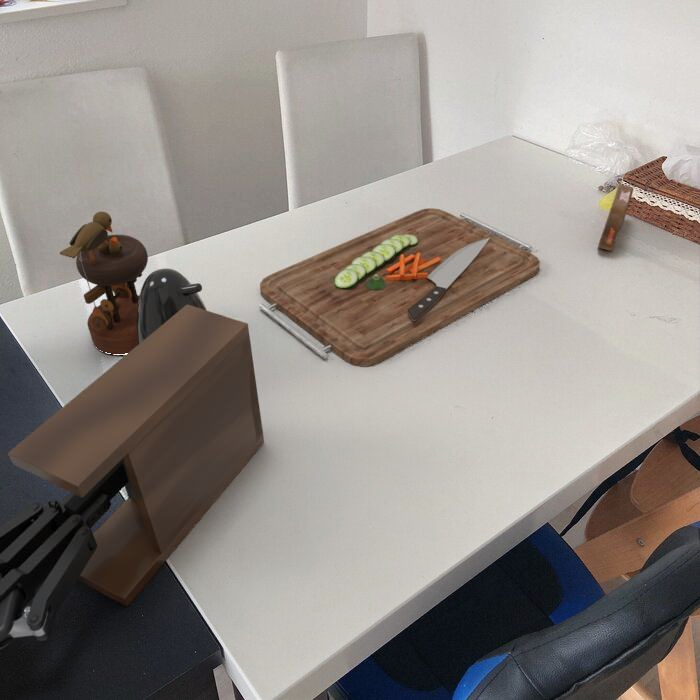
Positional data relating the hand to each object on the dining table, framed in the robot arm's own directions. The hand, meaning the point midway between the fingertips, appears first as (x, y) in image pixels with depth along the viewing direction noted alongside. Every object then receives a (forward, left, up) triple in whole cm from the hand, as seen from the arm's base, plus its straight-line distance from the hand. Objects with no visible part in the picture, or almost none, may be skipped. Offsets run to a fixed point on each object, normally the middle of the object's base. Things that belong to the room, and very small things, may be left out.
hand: (120, 470), depth 69 cm
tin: (+34, +84, -8) cm, 91 cm away
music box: (-23, +26, -8) cm, 36 cm away
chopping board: (+7, +56, -8) cm, 57 cm away
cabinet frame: (+3, +3, -8) cm, 9 cm away
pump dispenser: (-11, +23, -8) cm, 27 cm away
